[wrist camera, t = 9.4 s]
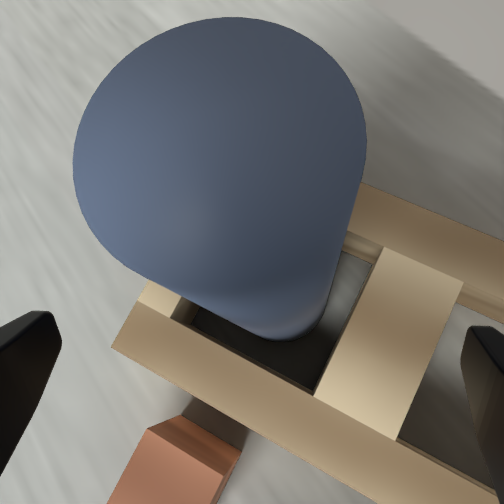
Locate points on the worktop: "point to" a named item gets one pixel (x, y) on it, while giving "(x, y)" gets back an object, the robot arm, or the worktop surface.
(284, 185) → the blue-grey cylinder
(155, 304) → the socket board
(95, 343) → the worktop surface
